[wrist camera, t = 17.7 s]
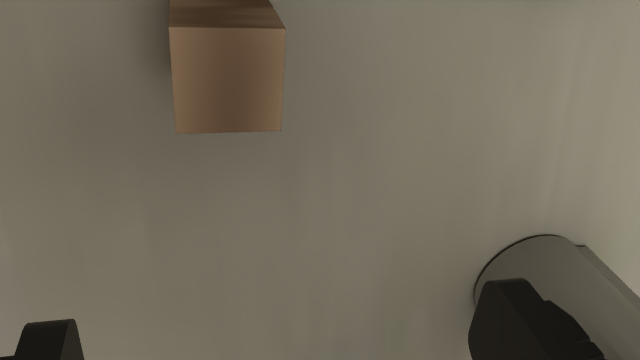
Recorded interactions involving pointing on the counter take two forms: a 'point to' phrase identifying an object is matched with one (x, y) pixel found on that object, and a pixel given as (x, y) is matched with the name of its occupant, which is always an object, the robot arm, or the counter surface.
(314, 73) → the counter surface
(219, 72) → the walnut block
